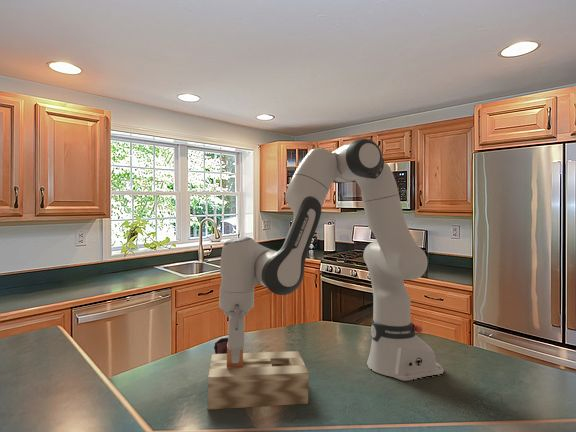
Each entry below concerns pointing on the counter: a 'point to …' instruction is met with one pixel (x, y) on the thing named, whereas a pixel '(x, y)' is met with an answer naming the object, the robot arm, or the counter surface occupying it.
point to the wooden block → (229, 359)
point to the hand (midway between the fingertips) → (235, 354)
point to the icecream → (221, 346)
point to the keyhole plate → (258, 381)
